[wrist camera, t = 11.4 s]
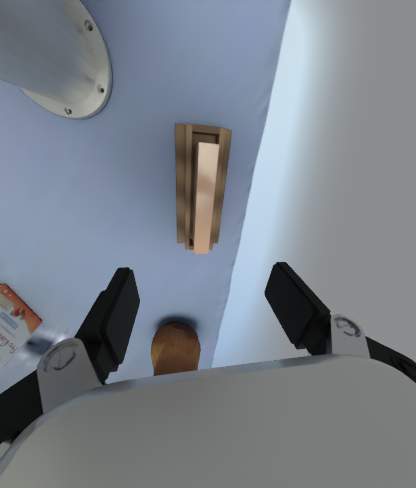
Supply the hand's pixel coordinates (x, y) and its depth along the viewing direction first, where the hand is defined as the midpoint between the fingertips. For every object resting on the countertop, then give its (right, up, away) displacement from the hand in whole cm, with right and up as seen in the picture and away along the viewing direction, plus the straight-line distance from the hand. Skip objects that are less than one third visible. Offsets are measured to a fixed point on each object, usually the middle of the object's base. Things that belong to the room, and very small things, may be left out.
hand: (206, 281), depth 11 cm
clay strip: (-1, +12, +19) cm, 23 cm away
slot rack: (-1, +12, +20) cm, 24 cm away
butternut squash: (-10, -24, +40) cm, 48 cm away
